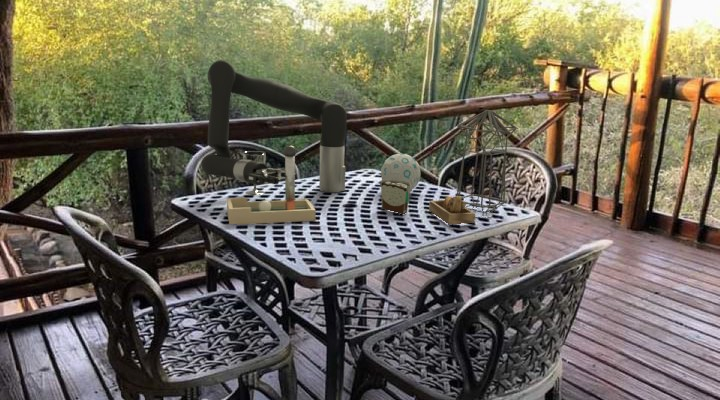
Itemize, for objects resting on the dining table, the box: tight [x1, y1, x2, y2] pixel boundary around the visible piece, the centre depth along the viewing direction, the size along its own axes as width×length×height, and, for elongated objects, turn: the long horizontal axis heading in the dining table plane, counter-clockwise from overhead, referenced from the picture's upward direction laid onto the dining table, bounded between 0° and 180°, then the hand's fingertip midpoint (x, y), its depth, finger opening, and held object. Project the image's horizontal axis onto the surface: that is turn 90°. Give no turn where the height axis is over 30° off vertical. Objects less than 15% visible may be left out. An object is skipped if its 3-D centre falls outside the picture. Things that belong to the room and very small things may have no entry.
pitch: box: [226, 197, 316, 225], centre depth 185 cm, size 26×13×5 cm, turn 106°
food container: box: [379, 179, 413, 215], centre depth 196 cm, size 12×6×10 cm, turn 47°
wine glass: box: [242, 150, 267, 196], centre depth 213 cm, size 8×8×15 cm
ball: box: [259, 199, 271, 211], centre depth 185 cm, size 4×4×4 cm
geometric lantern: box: [456, 109, 519, 217], centre depth 192 cm, size 16×16×35 cm
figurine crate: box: [428, 199, 476, 225], centre depth 190 cm, size 9×17×4 cm, turn 16°
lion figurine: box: [443, 195, 467, 214], centre depth 189 cm, size 15×5×9 cm, turn 13°
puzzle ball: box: [380, 153, 422, 190], centre depth 220 cm, size 15×15×15 cm
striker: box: [283, 144, 297, 210], centre depth 184 cm, size 4×5×21 cm
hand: (287, 178), depth 185 cm, fingers open, 8 cm apart
